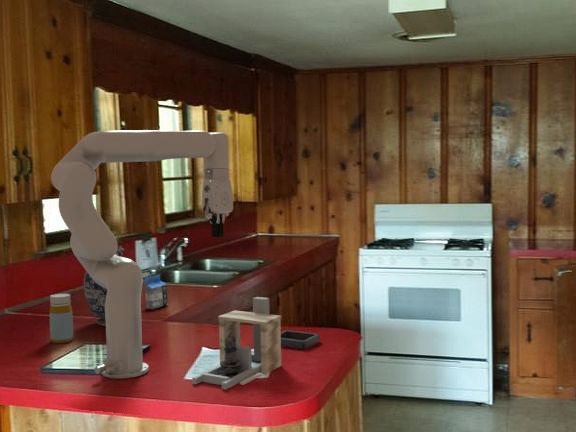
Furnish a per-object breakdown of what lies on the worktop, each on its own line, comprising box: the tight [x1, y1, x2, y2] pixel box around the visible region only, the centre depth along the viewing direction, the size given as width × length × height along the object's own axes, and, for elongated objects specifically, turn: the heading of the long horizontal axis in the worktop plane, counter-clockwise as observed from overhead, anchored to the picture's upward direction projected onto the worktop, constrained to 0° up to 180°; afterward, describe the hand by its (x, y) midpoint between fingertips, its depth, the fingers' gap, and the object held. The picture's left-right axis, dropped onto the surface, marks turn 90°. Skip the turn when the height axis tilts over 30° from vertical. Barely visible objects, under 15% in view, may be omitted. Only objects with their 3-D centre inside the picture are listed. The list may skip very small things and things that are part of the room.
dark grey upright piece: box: [219, 332, 242, 378], centre depth 182 cm, size 6×6×12 cm
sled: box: [191, 296, 270, 390], centre depth 185 cm, size 28×10×18 cm, turn 151°
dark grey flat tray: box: [281, 329, 321, 350], centre depth 214 cm, size 10×12×2 cm
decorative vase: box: [83, 244, 125, 327], centre depth 245 cm, size 21×19×28 cm
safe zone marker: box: [239, 372, 263, 386], centre depth 183 cm, size 9×14×1 cm, turn 61°
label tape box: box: [144, 274, 169, 310], centre depth 271 cm, size 9×4×12 cm, turn 148°
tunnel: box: [217, 310, 282, 375], centre depth 191 cm, size 8×16×14 cm, turn 61°
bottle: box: [48, 293, 74, 344], centre depth 221 cm, size 7×7×15 cm
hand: (217, 236), depth 203 cm, fingers closed
